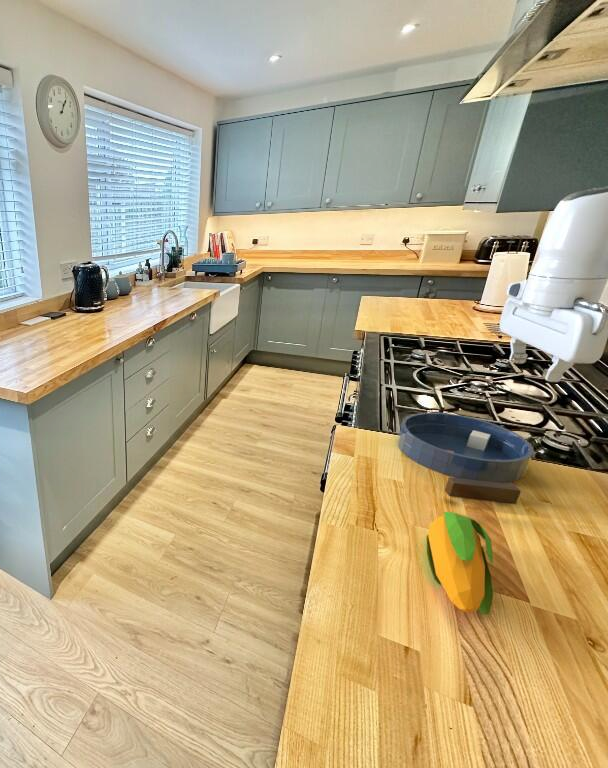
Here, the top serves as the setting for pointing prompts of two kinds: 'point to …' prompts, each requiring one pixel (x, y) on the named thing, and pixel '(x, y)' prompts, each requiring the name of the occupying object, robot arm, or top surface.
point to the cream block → (478, 440)
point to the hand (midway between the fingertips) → (532, 370)
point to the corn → (461, 561)
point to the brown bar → (482, 490)
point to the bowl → (464, 447)
